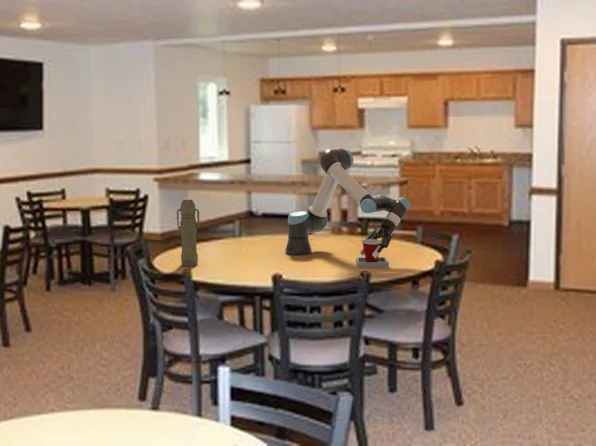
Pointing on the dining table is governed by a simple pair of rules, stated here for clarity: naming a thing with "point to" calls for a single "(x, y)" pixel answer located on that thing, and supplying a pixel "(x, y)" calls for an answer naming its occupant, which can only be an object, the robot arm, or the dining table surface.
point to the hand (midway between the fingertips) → (367, 255)
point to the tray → (372, 263)
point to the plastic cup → (370, 249)
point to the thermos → (188, 233)
